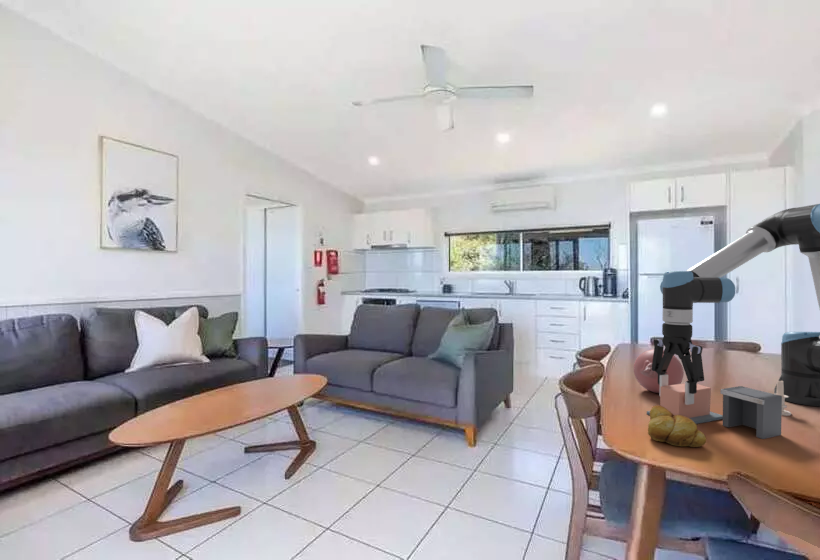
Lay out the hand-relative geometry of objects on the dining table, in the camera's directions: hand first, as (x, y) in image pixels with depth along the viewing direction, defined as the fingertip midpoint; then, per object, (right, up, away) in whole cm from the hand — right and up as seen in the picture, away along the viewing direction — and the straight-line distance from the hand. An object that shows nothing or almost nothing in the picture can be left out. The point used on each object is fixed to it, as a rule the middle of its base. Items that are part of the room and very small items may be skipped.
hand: (676, 399), depth 124 cm
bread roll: (-11, -6, -17) cm, 21 cm away
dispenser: (+14, -6, -10) cm, 18 cm away
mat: (+4, -5, +1) cm, 7 cm away
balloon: (+8, -5, +24) cm, 26 cm away
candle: (+34, -5, +4) cm, 35 cm away
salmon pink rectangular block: (+3, -5, +1) cm, 6 cm away
